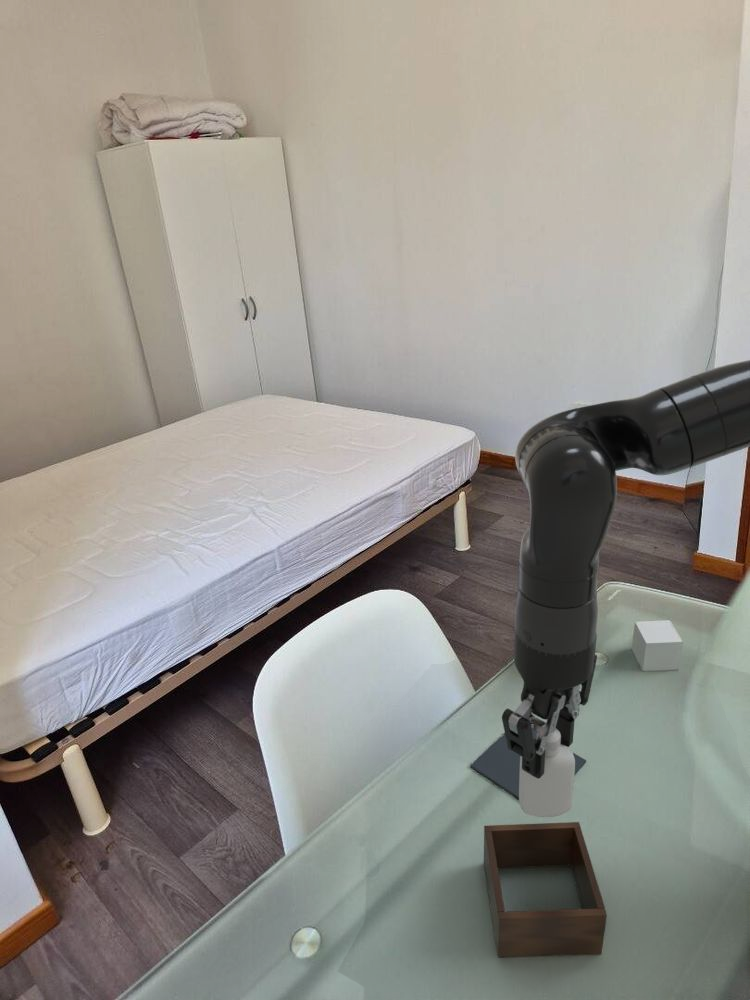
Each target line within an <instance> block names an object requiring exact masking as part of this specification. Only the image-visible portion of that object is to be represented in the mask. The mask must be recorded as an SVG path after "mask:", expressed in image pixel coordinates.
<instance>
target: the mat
mask: <svg viewBox="0 0 750 1000" xmlns="http://www.w3.org/2000/svg"><path fill="white" fill-rule="evenodd" d="M532 733H533V738H535V739H537V732H536V731H535V730H533V729H532ZM502 735H504V736H502ZM502 735H501V736H502V737H501V736H499V737H498V739H497V740H496V741H494V742H493V743H492V744H491V745H490V746H489V747H488V748H487V749H486V750H485V751H484V752H483V753H482V754H481V755H480V756H478V757H477V759H475V760H474V761H473V763H471V764H470V768H471V769H472V770H474V771H476V772H477V773H478V774H480V775H482V776H483V777H485V778H486V779H488V780H489V781H491V782H492V783H494V784H495V785H496V786H497V787H499V788H501V789H502V790H504V791H506V792H507V793H509V794H510V795H512V796H513V797H514V798H516V799H517V800H519V776H520V755H518V754H517V753H515V752H513V751H512V750H510V749H508V745H507V740H506V735H505V732H504V733H503V734H502ZM572 753H573V755H574V759H575V775H576V774H577V773H579V771H580V770H581V769H582V767H583V766H584V765H585V764H586V763H587V759H585V758H583V757H581V756H580V755H578V754H577V753H574V752H573V751H572Z"/></svg>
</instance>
